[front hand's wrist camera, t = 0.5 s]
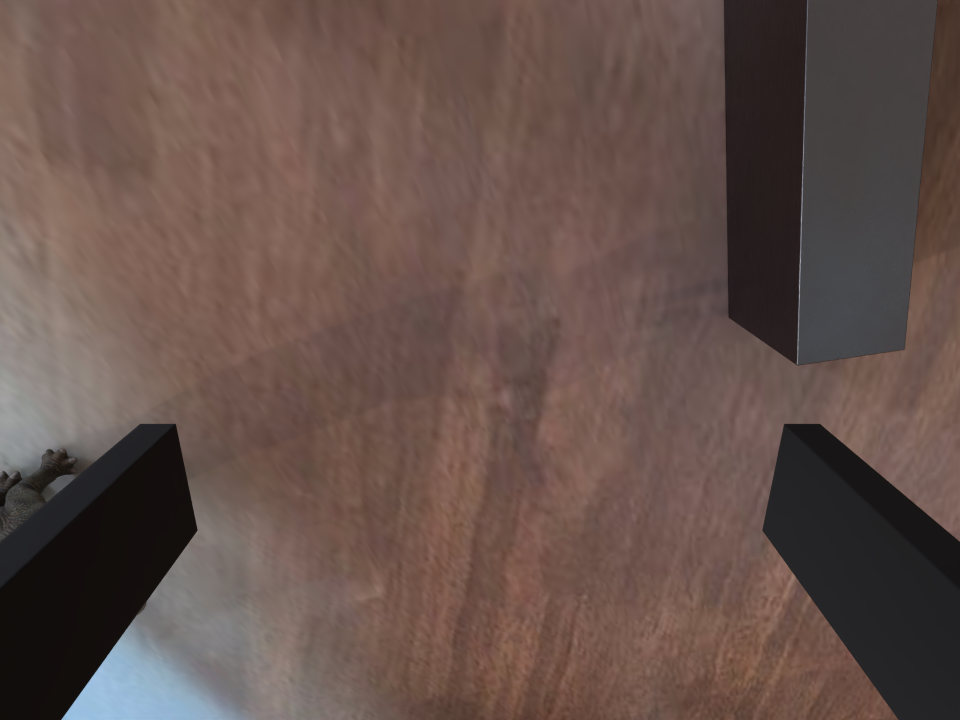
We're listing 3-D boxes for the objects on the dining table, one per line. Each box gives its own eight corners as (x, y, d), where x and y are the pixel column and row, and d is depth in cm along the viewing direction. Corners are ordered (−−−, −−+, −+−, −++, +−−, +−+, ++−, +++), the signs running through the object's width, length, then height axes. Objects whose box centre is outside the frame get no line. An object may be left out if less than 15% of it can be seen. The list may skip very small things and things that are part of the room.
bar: (812, 304, 37) (905, 350, 29) (728, 317, 37) (797, 365, 29) (829, -184, 29) (967, -313, 21) (720, -162, 29) (815, -281, 21)
